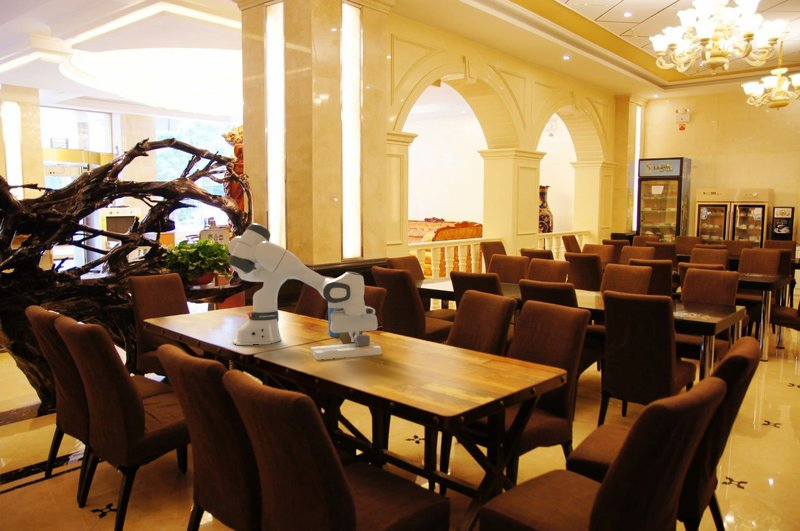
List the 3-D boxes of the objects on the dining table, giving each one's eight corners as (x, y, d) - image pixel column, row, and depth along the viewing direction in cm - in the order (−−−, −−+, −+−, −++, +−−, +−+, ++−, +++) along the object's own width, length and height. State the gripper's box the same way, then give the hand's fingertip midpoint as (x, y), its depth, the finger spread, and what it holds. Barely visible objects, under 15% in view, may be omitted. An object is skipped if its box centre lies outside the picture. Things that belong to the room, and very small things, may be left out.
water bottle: (349, 333, 311) (348, 283, 308) (345, 337, 301) (344, 285, 299) (330, 332, 312) (329, 283, 309) (326, 336, 302) (325, 285, 300)
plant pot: (363, 340, 294) (363, 306, 292) (369, 346, 279) (368, 311, 278) (332, 341, 291) (331, 308, 289) (336, 348, 276) (335, 313, 275)
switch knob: (358, 350, 265) (358, 337, 264) (355, 347, 270) (355, 334, 269) (369, 349, 267) (369, 336, 266) (366, 346, 271) (366, 333, 271)
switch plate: (316, 360, 255) (316, 352, 255) (310, 353, 267) (310, 346, 266) (381, 354, 265) (381, 346, 265) (372, 348, 276) (372, 341, 276)
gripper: (331, 312, 259) (332, 344, 260) (378, 309, 266) (378, 341, 267) (328, 309, 265) (328, 341, 266) (374, 307, 271) (374, 338, 273)
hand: (354, 341), depth 266 cm, fingers closed
